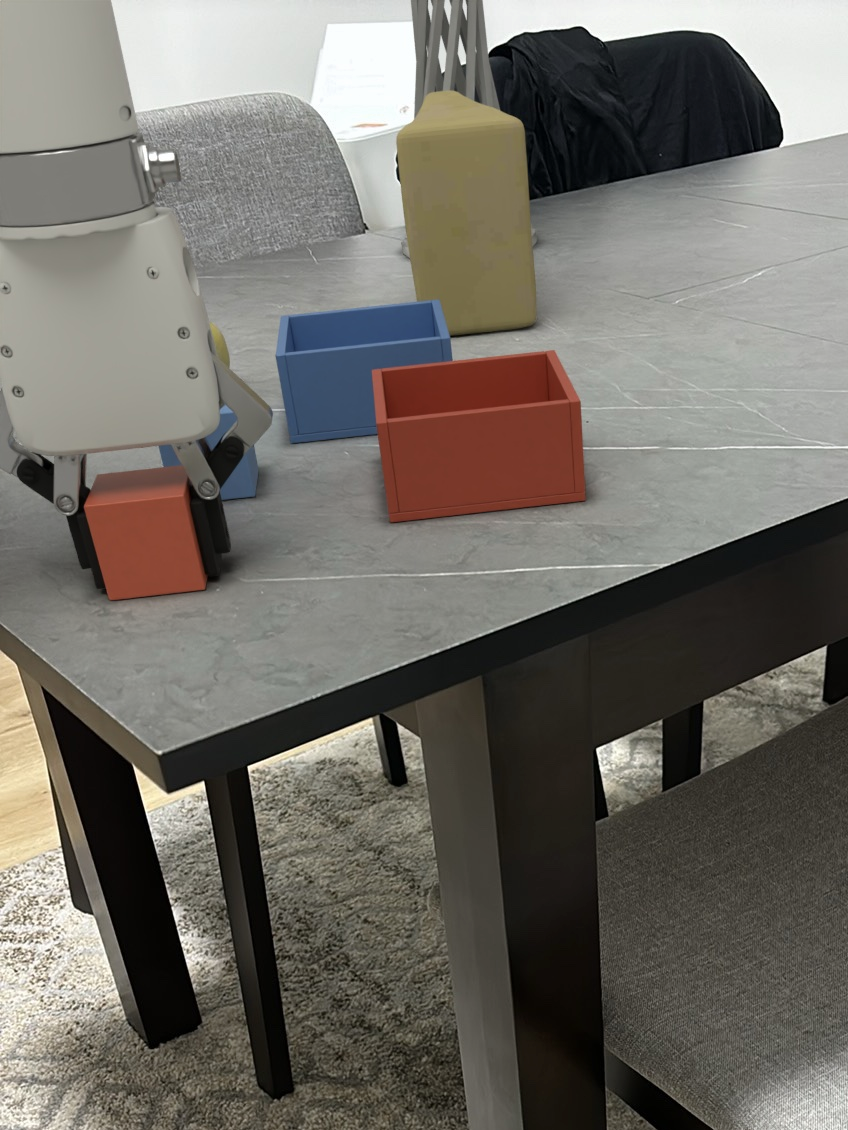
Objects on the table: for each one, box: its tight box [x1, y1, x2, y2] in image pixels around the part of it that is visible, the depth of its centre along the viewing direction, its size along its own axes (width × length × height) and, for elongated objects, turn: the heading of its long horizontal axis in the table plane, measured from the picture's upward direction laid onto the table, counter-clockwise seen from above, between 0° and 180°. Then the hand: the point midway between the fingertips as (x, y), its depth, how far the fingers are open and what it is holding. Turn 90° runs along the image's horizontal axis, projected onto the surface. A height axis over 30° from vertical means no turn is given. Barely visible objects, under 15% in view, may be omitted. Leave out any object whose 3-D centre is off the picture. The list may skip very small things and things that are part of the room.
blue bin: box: [275, 299, 454, 444], centre depth 95 cm, size 11×11×6 cm
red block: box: [84, 465, 209, 601], centre depth 73 cm, size 5×5×5 cm
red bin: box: [372, 349, 587, 523], centre depth 81 cm, size 11×11×6 cm
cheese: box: [395, 90, 538, 337], centre depth 115 cm, size 22×10×15 cm, turn 7°
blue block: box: [158, 405, 260, 501], centre depth 84 cm, size 5×5×5 cm
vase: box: [400, 0, 538, 259], centre depth 129 cm, size 14×13×35 cm
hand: (160, 569), depth 74 cm, fingers closed on red block, 5 cm apart
